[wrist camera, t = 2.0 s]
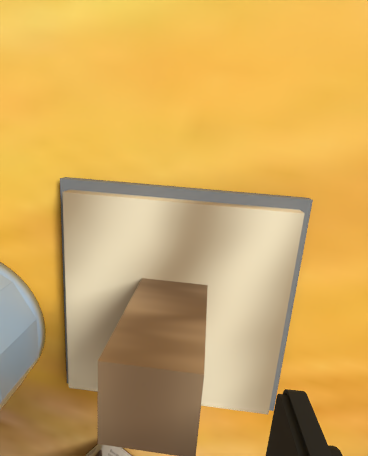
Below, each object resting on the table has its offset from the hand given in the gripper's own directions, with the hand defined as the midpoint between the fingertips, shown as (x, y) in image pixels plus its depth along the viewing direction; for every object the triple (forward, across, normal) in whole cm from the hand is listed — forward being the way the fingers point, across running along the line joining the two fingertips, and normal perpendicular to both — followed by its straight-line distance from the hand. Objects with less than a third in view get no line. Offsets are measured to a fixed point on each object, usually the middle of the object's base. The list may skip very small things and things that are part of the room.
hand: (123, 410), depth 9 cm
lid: (+7, -1, 0) cm, 7 cm away
